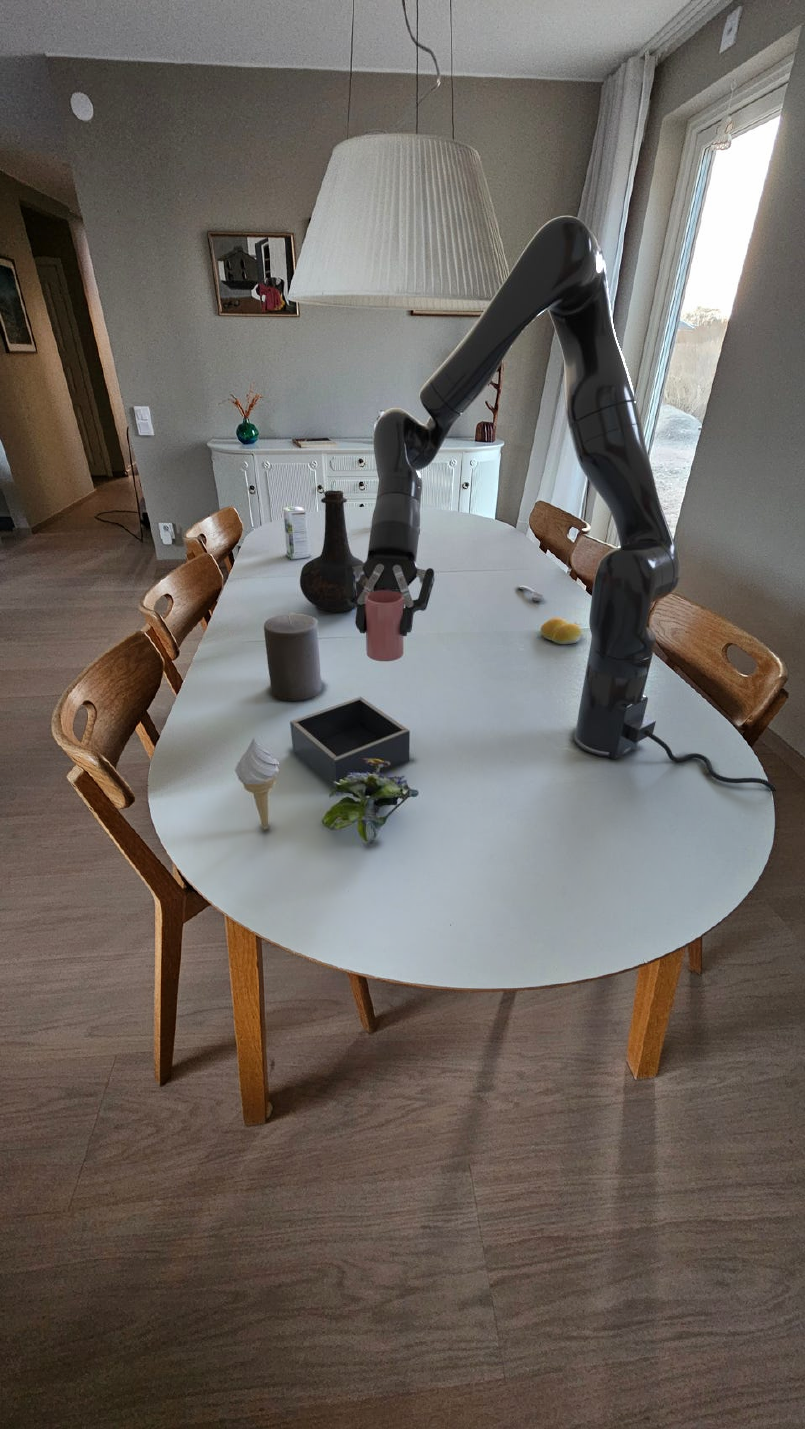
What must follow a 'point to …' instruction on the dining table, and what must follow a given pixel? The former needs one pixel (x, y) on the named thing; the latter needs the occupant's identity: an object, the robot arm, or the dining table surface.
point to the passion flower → (366, 799)
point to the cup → (384, 625)
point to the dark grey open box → (349, 740)
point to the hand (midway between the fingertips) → (383, 632)
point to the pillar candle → (293, 656)
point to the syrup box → (296, 532)
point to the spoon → (534, 595)
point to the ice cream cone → (258, 776)
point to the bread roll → (561, 631)
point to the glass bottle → (331, 561)
